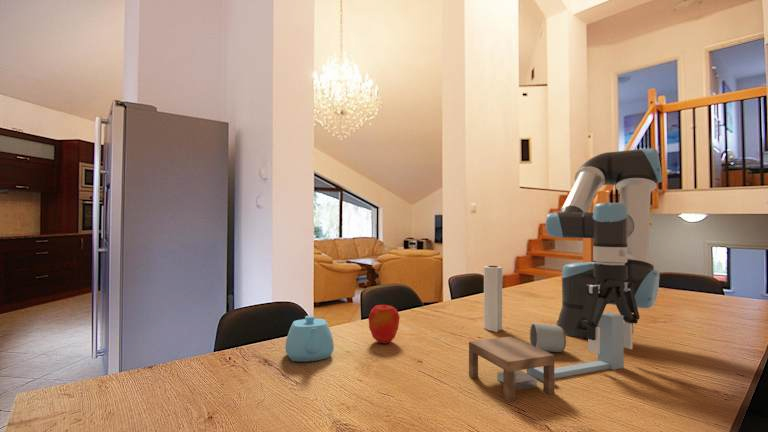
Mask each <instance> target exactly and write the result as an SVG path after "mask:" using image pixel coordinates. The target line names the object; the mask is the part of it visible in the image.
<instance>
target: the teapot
mask: <svg viewBox="0 0 768 432" xmlns="http://www.w3.org/2000/svg"><path fill="white" fill-rule="evenodd" d="M332 334H333V333H332V331H331V329H330V327H329V324H328V323H327V321H326V320H325V319H323V318H316V316H315V315H312V314H311V315H305V316H304V318H303V319H297V320H293V322H292V324H291V326H290V328H289V330H288V334H287V336H286V340H285V353H286V355H287V356H288V359H290V360H291V361H292V362H303V363H304V362H314V361H320V360H321V361H322V360H325V359H328V358H330V357H331V356H332V354H333V352H334V340H333V335H332Z"/></svg>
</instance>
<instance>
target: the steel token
mask: <svg viewBox="0 0 768 432" xmlns="http://www.w3.org/2000/svg"><path fill="white" fill-rule="evenodd" d="M496 374H497V375H496V379H497V381H499V382H500V383H502V384H504V371H499V372H497V373H496ZM534 387H538V379H537V378H535V377H533V376H531V375H529V374H527V372H525V371H523V370H518V371H514V391H519V390H524V389H528V388H534Z"/></svg>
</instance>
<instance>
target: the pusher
mask: <svg viewBox="0 0 768 432" xmlns="http://www.w3.org/2000/svg"><path fill="white" fill-rule="evenodd" d="M623 321H624V320H623V315H621V314H620V313H619V314H617V313H615V312H610V311H609V312H608V311H607V312H603V314H602V316H601V318H600V321H599V323H598V327H600V354H597V361H596V360H595V361H590V362H583V363H578V364H570V365H566V366H560V367H554V385H555V384H556V381H555V379H559V378H565V377H572V376H575V375H582V374H586V373H593V372H600V371H605V370H618V369H623V368H625V367H624V365H625V364H624V362H625V361H624V360H625V359H624V358H625V357H624V355H625V352H624V351H625V347H624V326H623ZM526 374H528V375H530V376H532V377H534V378H536V379H537V380H538V381H541V382H543V383H544V368H542V367H536V368H530V369H526Z"/></svg>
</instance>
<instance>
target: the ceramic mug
mask: <svg viewBox="0 0 768 432" xmlns="http://www.w3.org/2000/svg"><path fill="white" fill-rule="evenodd" d="M529 330H530V331H529V341H530V342H529V343H530V345H532V346H534V347H536V348H539V349H541V350H544V351H546V352H548V353H561V352H564V350H565V349H566V346H567V345H566V344H567V337H566V336H567V335H566V334H565V332H564V330H563V328H561V327H559V326H557V324H556V325H555V324H545V323H538V322H533V323H532V324H531V325H530V329H529Z"/></svg>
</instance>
